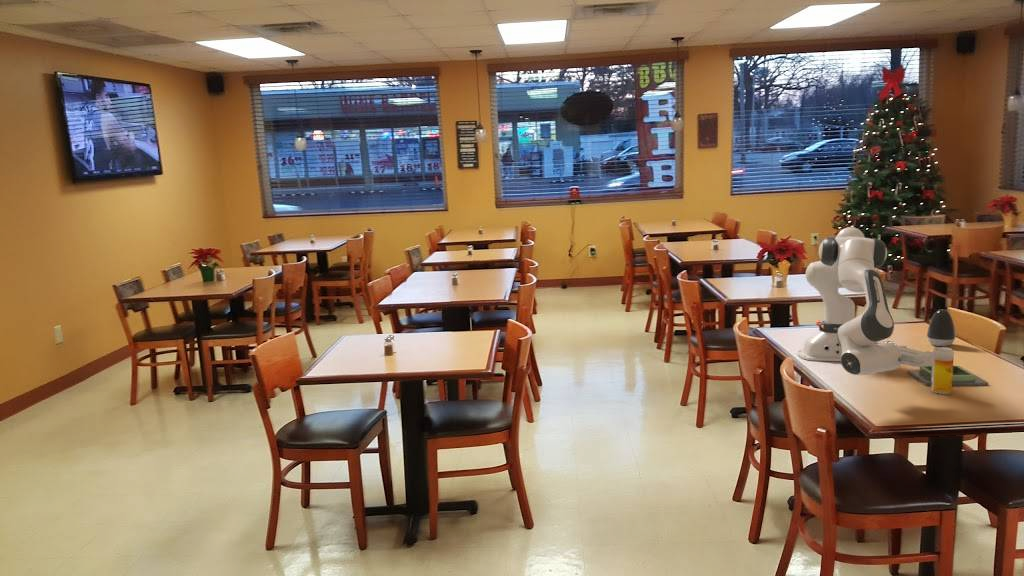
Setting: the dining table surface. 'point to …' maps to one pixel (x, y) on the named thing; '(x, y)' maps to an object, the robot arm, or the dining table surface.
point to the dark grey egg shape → (941, 329)
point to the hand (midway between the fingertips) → (917, 351)
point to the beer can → (942, 370)
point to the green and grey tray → (959, 378)
